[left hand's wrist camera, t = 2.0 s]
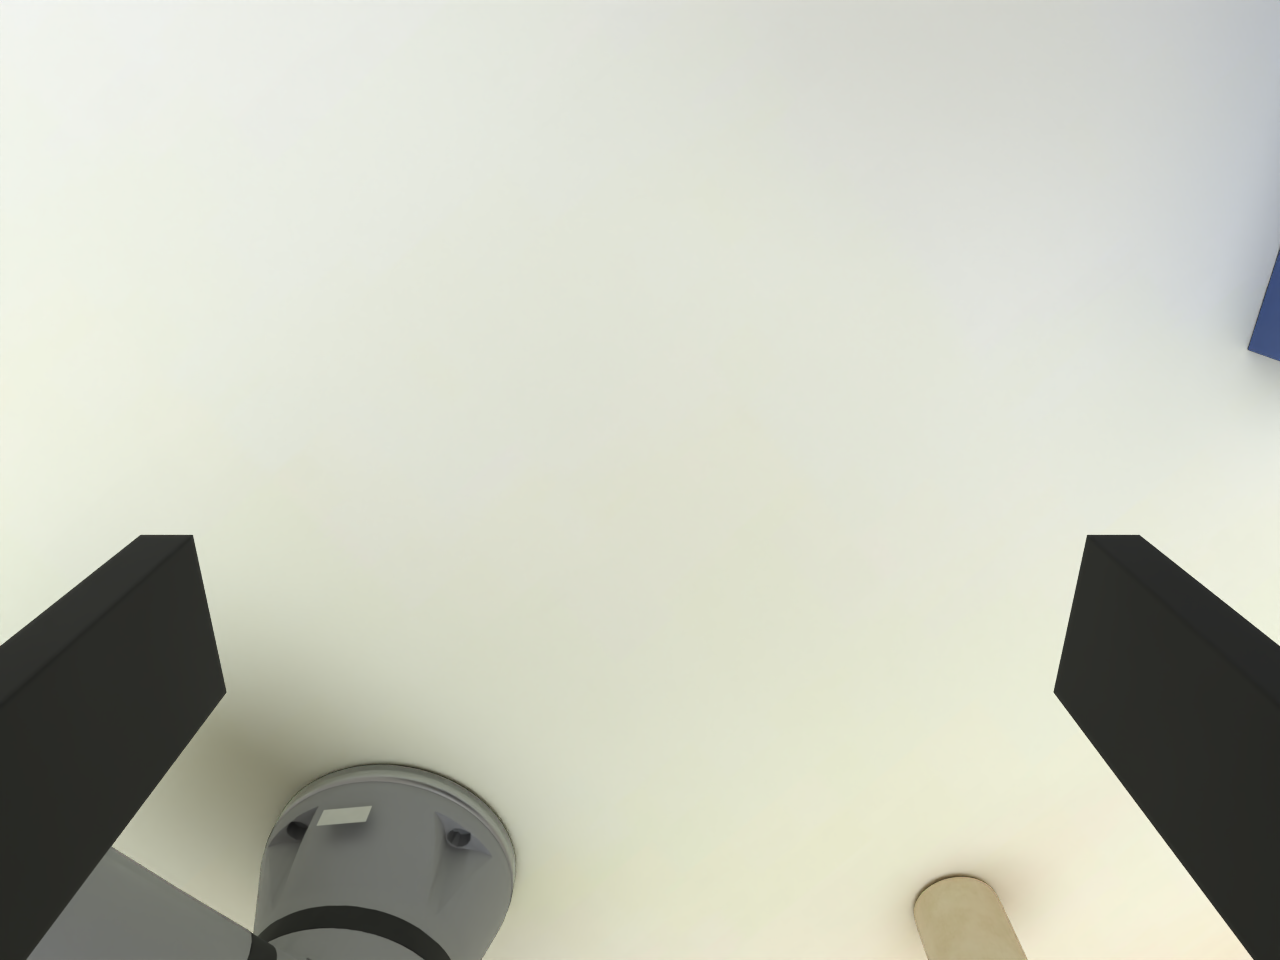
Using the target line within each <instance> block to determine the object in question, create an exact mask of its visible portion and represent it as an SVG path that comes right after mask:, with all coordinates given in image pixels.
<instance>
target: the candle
mask: <svg viewBox="0 0 1280 960" xmlns="http://www.w3.org/2000/svg"><path fill="white" fill-rule="evenodd" d="M914 917H915V922H916V925H917V929H918V932H919V935H920V938H921V941H922V943H923V946H924V949H925V952H926V955H927V958H928V960H1028V959H1027V957H1026V955H1025V953H1024V951H1023V949H1022V947H1021V945H1020V942H1019V940H1018V938H1017V936H1016V934H1015V932H1014V930H1013V927H1012V925H1011V923H1010V921H1009V919H1008V917H1007V915H1006V912H1005V910H1004V908H1003V906H1002V904H1001V902H1000V900H999V898H998V896H997V895H996V893H995V892H994V890H993V889H992V888H991V887H990V886H989V885H987V884H986V883H984V882H983V881H980V880H978V879H974V878H969V877H953V878H948V879H944V880H941V881H939V882H937V883H935V884H933V885H931V886H930V887H928V888H927V889H926V890H925V891H923V892H922V894H921V895H920V896H919V898H918V899H917V901H916V903H915V907H914Z"/></svg>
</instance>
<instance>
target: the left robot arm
mask: <svg viewBox="0 0 1280 960" xmlns="http://www.w3.org/2000/svg"><path fill="white" fill-rule="evenodd" d="M225 694H226V688H225V683H224V678H223V674H222V669H221V664H220V660H219V655H218V650H217V646H216V641H215V636H214V632H213V627H212V622H211V618H210V613H209V608H208V604H207V599H206V594H205V590H204V585H203V580H202V576H201V571H200V566H199V562H198V557H197V552H196V548H195V543H194V538H193V535H140V536H139V537H137V538H136V539H135V540H134V541H132V542H131V543H130V544H129V545H127V546H126V547H125V548H124V549H122V550H121V551H120V552H119V553H117V554H116V555H115V556H113V557H112V558H111V559H110V560H108V561H107V562H106V563H105V564H103V565H102V566H101V567H100V568H98V569H97V570H96V571H95V572H93V573H92V574H91V575H89V576H88V577H87V578H86V579H84V580H83V581H82V582H81V583H79V584H78V585H77V586H76V587H74V588H73V589H72V590H71V591H69V592H68V593H67V594H65V595H64V596H63V597H62V598H60V599H59V600H58V601H57V602H55V603H54V604H53V605H52V606H50V607H49V608H48V609H47V610H45V611H44V612H43V613H41V614H40V615H39V616H38V617H36V618H35V619H34V620H33V621H31V622H30V623H29V624H28V625H26V626H25V627H24V628H23V629H21V630H20V631H19V632H18V633H16V634H15V635H14V636H12V637H11V638H10V639H9V640H7V641H6V642H5V643H4V644H2V645H1V646H0V960H482V958H483V956H484V955H485V953H486V951H487V949H488V948H489V946H490V944H491V943H492V941H493V939H494V938H495V936H496V934H497V932H498V931H499V929H500V927H501V925H502V923H503V921H504V918H505V916H506V913H507V911H508V908H509V905H510V902H511V897H512V892H513V886H514V880H515V872H516V862H515V854H514V849H513V846H512V843H511V840H510V838H509V835H508V833H507V831H506V829H505V828H504V826H503V824H502V823H501V821H500V820H499V819H498V817H497V816H496V815H495V813H494V812H493V811H492V810H491V809H490V808H489V807H488V806H487V805H486V804H485V803H484V802H483V801H482V800H480V799H479V798H478V797H477V796H475V795H474V794H473V793H471V792H470V791H469V790H467V789H465V788H464V787H462V786H460V785H459V784H457V783H455V782H453V781H451V780H449V779H447V778H444V777H442V776H439V775H437V774H434V773H431V772H427V771H424V770H420V769H416V768H411V767H405V766H397V765H365V766H357V767H351V768H347V769H343V770H339V771H336V772H333V773H330V774H328V775H326V776H323V777H321V778H319V779H317V780H315V781H314V782H312V783H310V784H309V785H307V786H306V787H305V788H303V789H302V790H301V791H299V792H298V793H297V794H296V795H295V796H294V797H293V798H292V799H291V800H290V802H289V803H288V804H287V805H286V807H285V808H284V810H283V811H282V813H281V815H280V817H279V818H278V820H277V822H276V824H275V826H274V828H273V830H272V832H271V834H270V836H269V838H268V841H267V844H266V847H265V851H264V854H263V858H262V862H261V870H260V879H259V888H258V897H257V906H256V915H255V924H254V933H251V932H250V931H249V930H247V929H246V928H244V927H242V926H241V925H239V924H237V923H236V922H234V921H232V920H231V919H229V918H227V917H225V916H224V915H222V914H220V913H219V912H217V911H215V910H214V909H212V908H210V907H209V906H207V905H205V904H204V903H202V902H200V901H199V900H197V899H195V898H194V897H192V896H190V895H189V894H187V893H185V892H183V891H182V890H180V889H178V888H177V887H175V886H174V885H172V884H170V883H169V882H167V881H166V880H164V879H162V878H161V877H159V876H158V875H156V874H154V873H153V872H151V871H150V870H148V869H146V868H145V867H143V866H142V865H140V864H138V863H137V862H135V861H134V860H132V859H130V858H129V857H127V856H126V855H124V854H122V853H121V852H119V851H118V850H116V849H114V848H113V847H112V845H113V843H114V842H115V841H116V839H117V838H118V837H119V835H120V834H121V833H122V831H123V830H124V829H125V827H126V826H127V825H128V823H129V822H130V821H131V819H132V818H133V817H134V815H135V814H136V812H137V811H138V810H139V808H140V807H141V806H142V804H143V803H144V802H145V800H146V799H147V798H148V796H149V795H150V794H151V792H152V791H153V790H154V788H155V787H156V786H157V784H158V783H159V782H160V780H161V779H162V778H163V776H164V775H165V774H166V772H167V771H168V770H169V768H170V767H171V766H172V764H173V763H174V762H175V760H176V759H177V758H178V756H179V755H180V754H181V752H182V751H183V750H184V748H185V747H186V746H187V744H188V743H189V742H190V740H191V739H192V738H193V736H194V735H195V734H196V732H197V731H198V730H199V728H200V727H201V726H202V724H203V723H204V722H205V720H206V719H207V718H208V716H209V715H210V714H211V712H212V711H213V710H214V708H215V707H216V706H217V704H218V703H219V702H220V700H221V699H222V698H223V696H224V695H225ZM1054 694H1055V695H1056V696H1057V698H1058V699H1059V700H1060V702H1061V703H1062V704H1063V706H1064V707H1065V708H1066V710H1067V711H1068V712H1069V714H1070V715H1071V716H1072V718H1073V719H1074V720H1075V722H1076V723H1077V724H1078V726H1079V727H1080V728H1081V730H1082V731H1083V732H1084V734H1085V735H1086V736H1087V738H1088V739H1089V740H1090V742H1091V743H1092V744H1093V746H1094V747H1095V748H1096V750H1097V751H1098V752H1099V754H1100V755H1101V756H1102V758H1103V759H1104V760H1105V762H1106V763H1107V764H1108V766H1109V767H1110V768H1111V770H1112V771H1113V772H1114V774H1115V775H1116V776H1117V778H1118V779H1119V780H1120V782H1121V783H1122V784H1123V786H1124V787H1125V788H1126V790H1127V791H1128V792H1129V794H1130V795H1131V796H1132V798H1133V799H1134V800H1135V802H1136V803H1137V804H1138V806H1139V807H1140V808H1141V810H1142V811H1143V812H1144V814H1145V815H1146V817H1147V818H1148V819H1149V821H1150V822H1151V823H1152V825H1153V826H1154V827H1155V829H1156V830H1157V831H1158V833H1159V834H1160V835H1161V837H1162V838H1163V839H1164V841H1165V842H1166V843H1167V845H1168V846H1169V847H1170V849H1171V850H1172V851H1173V853H1174V854H1175V855H1176V857H1177V858H1178V859H1179V861H1180V862H1181V863H1182V865H1183V866H1184V867H1185V869H1186V870H1187V871H1188V873H1189V874H1190V875H1191V877H1192V878H1193V879H1194V881H1195V882H1196V883H1197V885H1198V886H1199V887H1200V889H1201V890H1202V891H1203V893H1204V894H1205V895H1206V897H1207V898H1208V899H1209V901H1210V902H1211V903H1212V905H1213V906H1214V907H1215V909H1216V910H1217V911H1218V913H1219V914H1220V915H1221V917H1222V918H1223V919H1224V921H1225V922H1226V923H1227V925H1228V926H1229V927H1230V929H1231V930H1232V931H1233V933H1234V934H1235V935H1236V937H1237V938H1238V939H1239V941H1240V942H1241V943H1242V945H1243V946H1244V947H1245V949H1246V950H1247V952H1248V953H1249V954H1250V956H1251V957H1252V958H1253V960H1280V646H1279V645H1278V644H1276V643H1275V642H1274V641H1273V640H1271V639H1270V638H1269V637H1268V636H1266V635H1265V634H1264V633H1262V632H1261V631H1260V630H1259V629H1257V628H1256V627H1255V626H1254V625H1252V624H1251V623H1250V622H1249V621H1247V620H1246V619H1245V618H1244V617H1242V616H1241V615H1240V614H1239V613H1237V612H1236V611H1235V610H1233V609H1232V608H1231V607H1230V606H1228V605H1227V604H1226V603H1225V602H1223V601H1222V600H1221V599H1220V598H1218V597H1217V596H1216V595H1215V594H1213V593H1212V592H1211V591H1209V590H1208V589H1207V588H1206V587H1204V586H1203V585H1202V584H1201V583H1199V582H1198V581H1197V580H1196V579H1194V578H1193V577H1192V576H1191V575H1189V574H1188V573H1187V572H1185V571H1184V570H1183V569H1182V568H1180V567H1179V566H1178V565H1177V564H1175V563H1174V562H1173V561H1172V560H1170V559H1169V558H1168V557H1167V556H1165V555H1164V554H1163V553H1161V552H1160V551H1159V550H1158V549H1156V548H1155V547H1154V546H1153V545H1151V544H1150V543H1149V542H1148V541H1146V540H1145V539H1144V538H1143V537H1141V536H1140V535H1087V538H1086V543H1085V548H1084V552H1083V557H1082V562H1081V566H1080V571H1079V576H1078V580H1077V585H1076V590H1075V594H1074V599H1073V604H1072V608H1071V613H1070V618H1069V622H1068V627H1067V632H1066V636H1065V641H1064V646H1063V650H1062V655H1061V660H1060V664H1059V669H1058V674H1057V678H1056V683H1055V688H1054Z"/></svg>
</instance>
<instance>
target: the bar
mask: <svg viewBox="0 0 1280 960" xmlns="http://www.w3.org/2000/svg"><path fill="white" fill-rule="evenodd" d="M1248 350H1250V351H1253V352H1255V353H1258V354H1261V355H1264V356H1267V357H1270V358H1272V359H1275V360H1278V361H1280V251H1279V254H1278V257H1277V260H1276V263H1275V267H1274V270H1273V273H1272V276H1271V279H1270V282H1269V285H1268V288H1267V292H1266V295H1265V298H1264V301H1263V304H1262V307H1261V310H1260V313H1259V316H1258V320H1257V323H1256V326H1255V329H1254V332H1253V335H1252V338H1251V341H1250V344H1249V348H1248Z"/></svg>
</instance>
